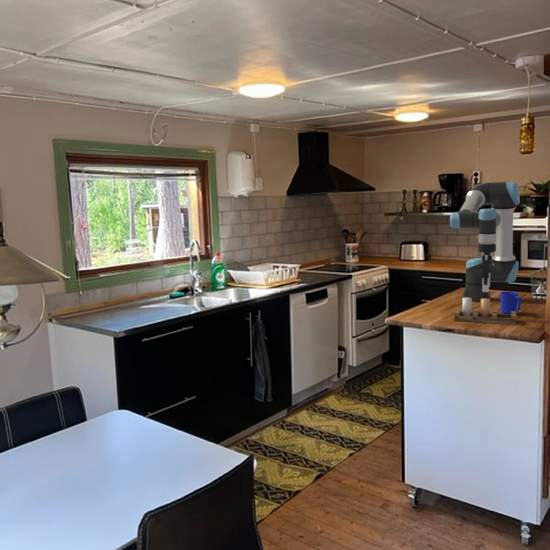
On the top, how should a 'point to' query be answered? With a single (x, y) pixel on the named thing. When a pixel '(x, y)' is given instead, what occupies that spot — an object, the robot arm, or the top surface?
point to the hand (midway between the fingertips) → (486, 289)
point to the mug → (509, 302)
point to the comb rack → (492, 319)
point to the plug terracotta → (485, 307)
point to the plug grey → (466, 306)
